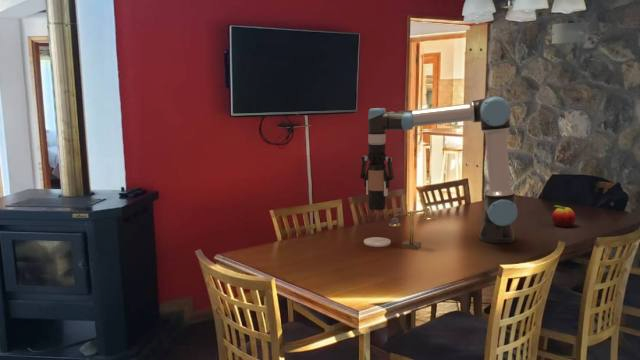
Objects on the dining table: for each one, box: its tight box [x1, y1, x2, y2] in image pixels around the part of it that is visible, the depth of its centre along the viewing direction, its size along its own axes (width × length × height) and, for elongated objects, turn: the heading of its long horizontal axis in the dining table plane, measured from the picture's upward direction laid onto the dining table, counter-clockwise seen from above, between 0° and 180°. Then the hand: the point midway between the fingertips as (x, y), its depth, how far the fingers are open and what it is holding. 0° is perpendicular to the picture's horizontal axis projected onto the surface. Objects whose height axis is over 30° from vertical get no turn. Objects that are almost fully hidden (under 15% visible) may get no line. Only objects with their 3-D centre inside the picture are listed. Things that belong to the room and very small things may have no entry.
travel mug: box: [368, 163, 387, 211], centre depth 251 cm, size 8×8×20 cm
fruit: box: [551, 204, 576, 228], centre depth 280 cm, size 11×11×10 cm
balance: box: [388, 207, 436, 251], centre depth 246 cm, size 20×6×18 cm, turn 63°
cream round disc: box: [363, 236, 392, 248], centre depth 255 cm, size 12×12×1 cm
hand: (376, 194), depth 251 cm, fingers closed on travel mug, 8 cm apart
